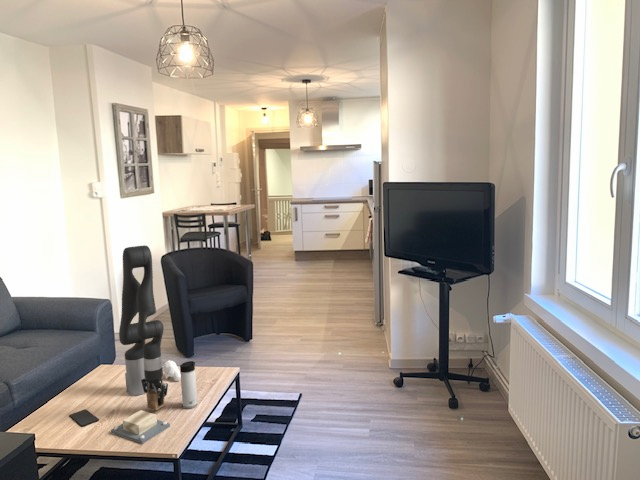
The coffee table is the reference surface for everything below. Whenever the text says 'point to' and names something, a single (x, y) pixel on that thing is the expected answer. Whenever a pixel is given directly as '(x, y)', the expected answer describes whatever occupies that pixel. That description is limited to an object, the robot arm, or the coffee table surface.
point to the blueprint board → (145, 435)
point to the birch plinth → (139, 422)
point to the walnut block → (153, 400)
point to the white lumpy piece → (171, 370)
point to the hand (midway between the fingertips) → (156, 403)
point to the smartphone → (83, 418)
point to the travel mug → (188, 384)
